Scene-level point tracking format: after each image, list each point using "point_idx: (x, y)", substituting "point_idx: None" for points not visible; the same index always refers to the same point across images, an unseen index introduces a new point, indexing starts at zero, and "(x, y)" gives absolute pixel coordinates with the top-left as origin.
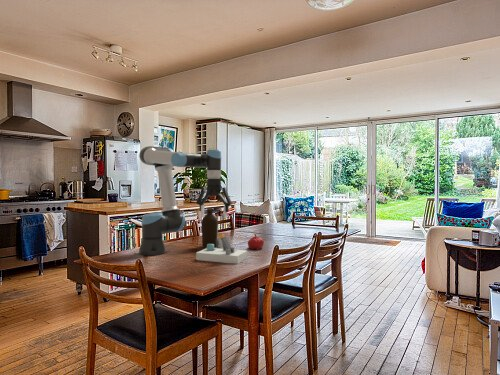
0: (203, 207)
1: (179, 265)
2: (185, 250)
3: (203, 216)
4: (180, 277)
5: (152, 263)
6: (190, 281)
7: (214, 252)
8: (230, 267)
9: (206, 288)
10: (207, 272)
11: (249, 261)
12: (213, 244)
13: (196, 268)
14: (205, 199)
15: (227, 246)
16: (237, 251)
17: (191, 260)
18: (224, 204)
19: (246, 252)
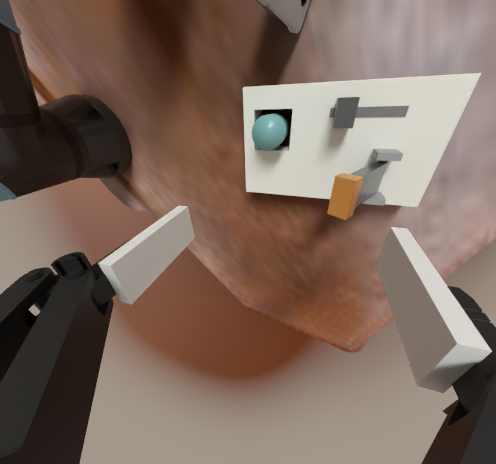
0: (138, 267)
1: (243, 240)
2: (137, 49)
3: (187, 222)
4: (290, 306)
5: None
6: (316, 322)
7: (305, 173)
8: (383, 238)
9: (356, 347)
10: (329, 280)
11: (465, 146)
12: (279, 127)
13: (292, 257)
14: (88, 377)
15: (370, 193)
16: (411, 119)
17: (243, 191)
18: (445, 423)
19: (468, 90)
